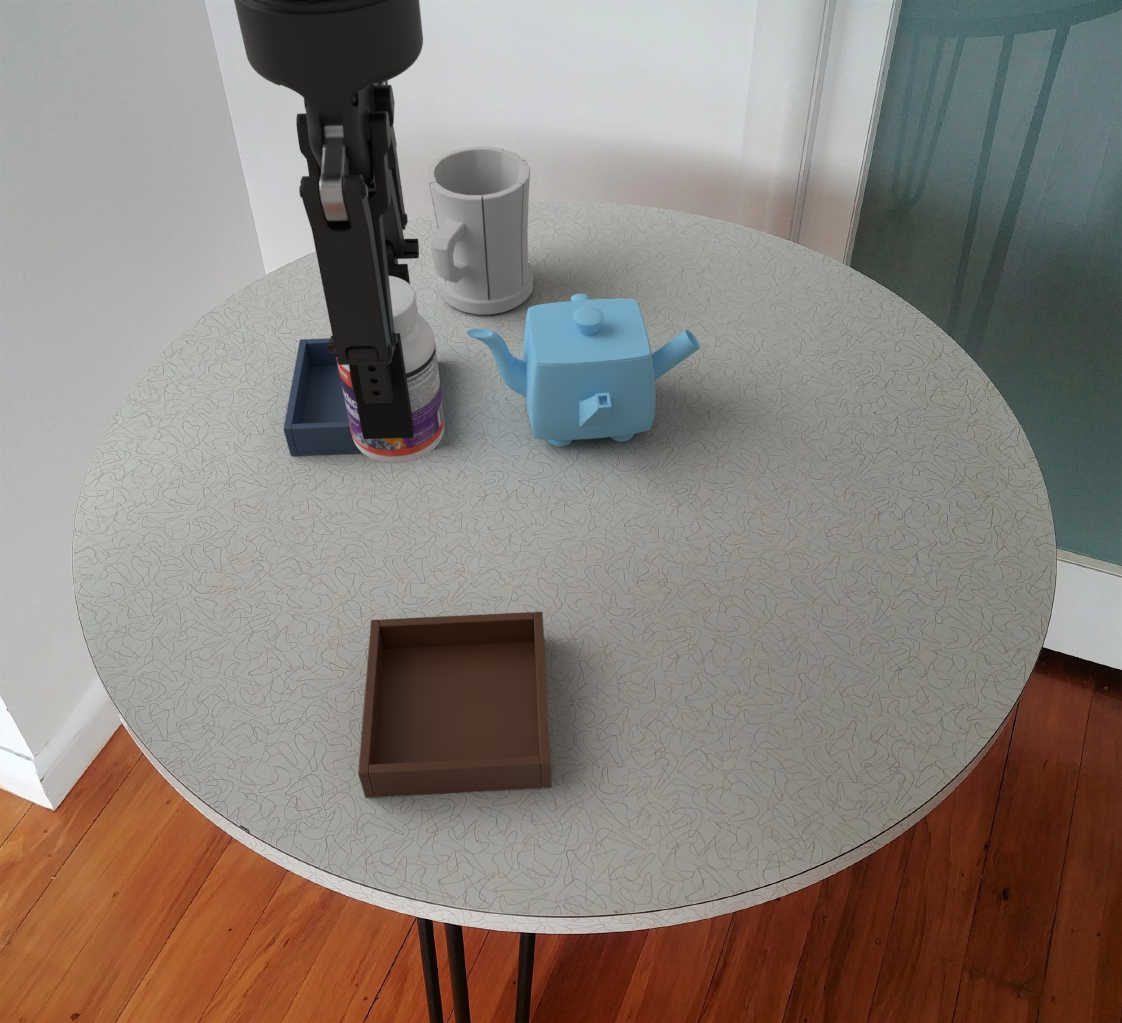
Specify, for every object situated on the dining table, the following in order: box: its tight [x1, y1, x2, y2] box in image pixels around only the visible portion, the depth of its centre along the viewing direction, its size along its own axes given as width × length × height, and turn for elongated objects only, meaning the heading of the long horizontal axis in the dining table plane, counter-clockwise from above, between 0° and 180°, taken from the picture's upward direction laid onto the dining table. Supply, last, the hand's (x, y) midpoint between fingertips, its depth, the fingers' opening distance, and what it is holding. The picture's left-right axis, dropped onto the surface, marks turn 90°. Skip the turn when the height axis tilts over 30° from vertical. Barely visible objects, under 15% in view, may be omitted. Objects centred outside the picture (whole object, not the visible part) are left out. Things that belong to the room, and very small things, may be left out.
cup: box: [425, 145, 534, 316], centre depth 94 cm, size 10×9×12 cm
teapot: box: [466, 293, 701, 448], centre depth 83 cm, size 18×14×10 cm
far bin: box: [283, 337, 363, 457], centre depth 87 cm, size 11×11×3 cm
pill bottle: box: [336, 276, 445, 464], centre depth 58 cm, size 5×5×10 cm
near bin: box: [357, 611, 552, 799], centre depth 66 cm, size 11×11×3 cm
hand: (392, 396), depth 60 cm, fingers closed on pill bottle, 5 cm apart
